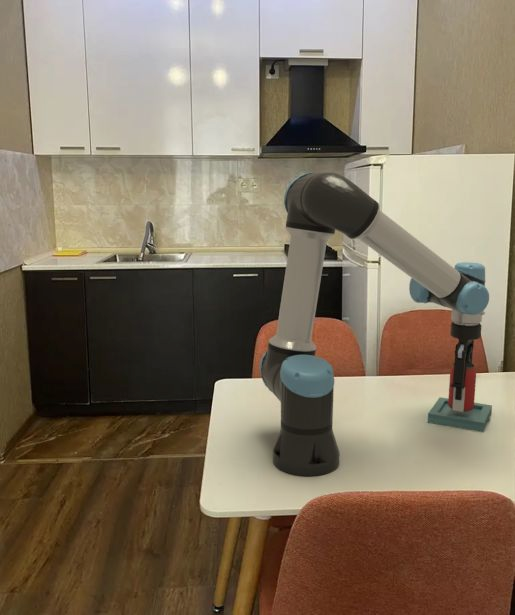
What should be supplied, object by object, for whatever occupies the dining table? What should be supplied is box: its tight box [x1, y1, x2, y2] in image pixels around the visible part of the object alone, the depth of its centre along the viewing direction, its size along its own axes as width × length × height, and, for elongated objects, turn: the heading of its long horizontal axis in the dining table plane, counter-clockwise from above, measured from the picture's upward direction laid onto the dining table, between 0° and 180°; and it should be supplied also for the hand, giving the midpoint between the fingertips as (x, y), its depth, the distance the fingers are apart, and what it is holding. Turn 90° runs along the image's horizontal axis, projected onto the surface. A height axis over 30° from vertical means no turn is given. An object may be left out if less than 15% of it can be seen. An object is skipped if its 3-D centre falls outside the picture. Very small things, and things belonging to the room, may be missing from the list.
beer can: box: [448, 362, 477, 411], centre depth 161 cm, size 7×7×12 cm
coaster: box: [427, 396, 493, 433], centre depth 163 cm, size 14×14×2 cm
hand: (460, 406), depth 162 cm, fingers closed on beer can, 6 cm apart
